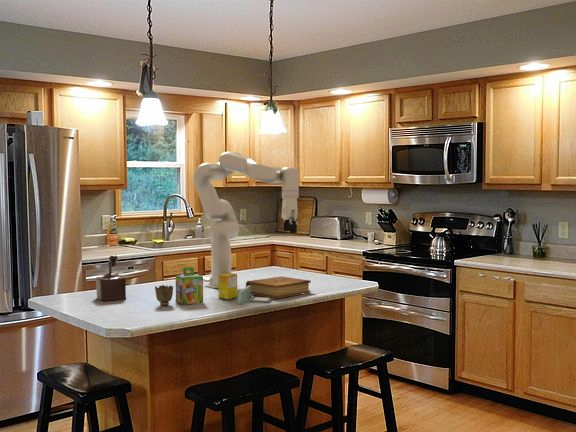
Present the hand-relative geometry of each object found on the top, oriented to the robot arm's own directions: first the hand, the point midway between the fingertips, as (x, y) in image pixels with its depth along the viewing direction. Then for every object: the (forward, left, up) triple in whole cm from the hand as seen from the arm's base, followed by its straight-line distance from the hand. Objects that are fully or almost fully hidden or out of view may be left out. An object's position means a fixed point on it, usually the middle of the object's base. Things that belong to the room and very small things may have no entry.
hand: (290, 232), depth 293 cm
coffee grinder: (-75, -27, -28) cm, 85 cm away
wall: (-15, -23, -28) cm, 39 cm away
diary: (-4, -5, -28) cm, 28 cm away
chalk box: (-37, -31, -28) cm, 56 cm away
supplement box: (-23, -21, -28) cm, 42 cm away
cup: (-45, -39, -28) cm, 66 cm away
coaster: (-8, -22, -28) cm, 36 cm away
